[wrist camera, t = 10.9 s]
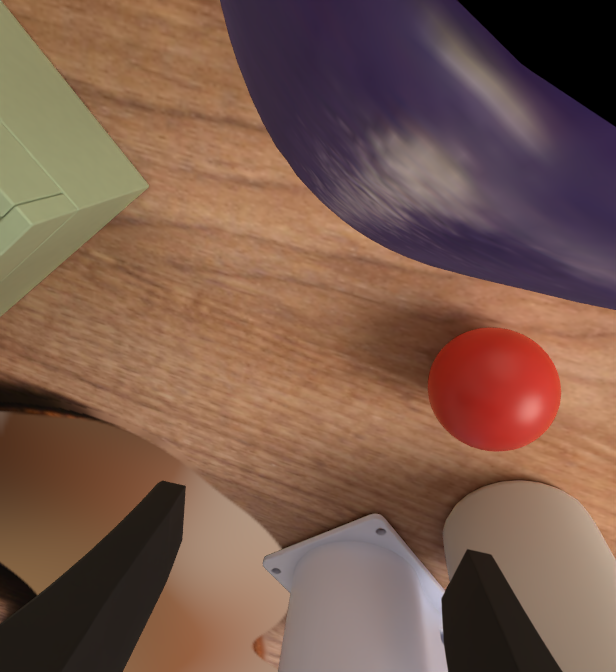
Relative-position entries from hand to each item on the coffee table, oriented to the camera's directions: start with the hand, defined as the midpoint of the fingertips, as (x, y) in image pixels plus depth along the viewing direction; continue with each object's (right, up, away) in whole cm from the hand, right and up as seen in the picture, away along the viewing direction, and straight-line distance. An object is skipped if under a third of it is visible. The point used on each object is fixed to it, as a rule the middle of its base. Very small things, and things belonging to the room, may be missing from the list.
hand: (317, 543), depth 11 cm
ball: (+7, +3, +5) cm, 9 cm away
